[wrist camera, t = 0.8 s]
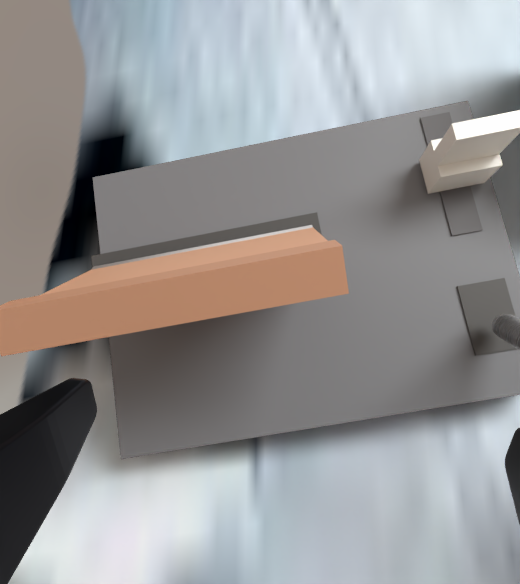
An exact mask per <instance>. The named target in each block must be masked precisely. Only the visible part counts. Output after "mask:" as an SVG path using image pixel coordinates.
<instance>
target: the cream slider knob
mask: <svg viewBox="0 0 520 584" xmlns="http://www.w3.org/2000/svg"><path fill="white" fill-rule="evenodd" d="M519 133H520V110H517V111H512V112H507V113H502V114H497V115H492V116H487V117H482V118H477V119H472V120H467V121H463V122H458V123H453V124H451V126H450V127H449V129H448V130H447V132H446V133H445V135H444V137H443V138H441V139H436V140H431V141H430V143H429V145H428V146H427V148H426V150H425V151H424V153H423V155H422V156H421V158H420V159H419V161H420V165H421V169H422V173H423V176H424V180H425V184H426V188H427V192H428V194H429V193H434V192H440V191H445V190H450V189H455V188H460V187H466V186H471V185H476V184H481V183H485V182H486V181H487V180H488V179H489V178H490V177H491V176H492V175H493V174H494V173H495V172H496V171H497V170H498V169H499V168H500V167H502V166H503V164H502V160H501V157H500V153H501V152H502V151H503V150H504V149H505V148H506V147H507V146H508V145H509V144H510V143H511V142H512V141H513V140H514V139H515V138H516V137H517V136H518V134H519Z"/></svg>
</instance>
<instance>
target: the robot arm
mask: <svg viewBox="0 0 520 584" xmlns="http://www.w3.org/2000/svg"><path fill="white" fill-rule="evenodd" d="M96 412H97V406H96V402H95V398H94V394H93V389H92V385H91V383H90V382H89V381H88V380H86V379H77V378H71V379H68V380H66V381H64V382H62V383H60V384H58V385H56V386H54V387H53V388H51V389H49V390H47V391H45V392H43V393H41V394H39V395H37V396H35V397H33V398H31V399H30V400H28V401H26V402H24V403H22V404H20V405H18V406H16V407H14V408H12V409H10V410H8V411H7V412H5V413H3V414H1V415H0V584H8V582H9V581H10V579H11V577H12V575H13V574H14V572H15V570H16V568H17V567H18V565H19V563H20V561H21V560H22V558H23V556H24V554H25V553H26V551H27V549H28V547H29V546H30V544H31V542H32V540H33V539H34V537H35V535H36V533H37V532H38V530H39V528H40V526H41V525H42V523H43V521H44V520H45V518H46V516H47V514H48V513H49V511H50V509H51V507H52V506H53V504H54V502H55V500H56V499H57V497H58V495H59V493H60V492H61V490H62V488H63V486H64V484H65V483H66V481H67V479H68V477H69V475H70V473H71V470H72V468H73V466H74V464H75V462H76V459H77V457H78V455H79V453H80V451H81V448H82V446H83V444H84V442H85V439H86V437H87V435H88V433H89V431H90V428H91V426H92V424H93V422H94V419H95V417H96ZM505 468H506V473H507V477H508V481H509V485H510V489H511V493H512V497H513V500H514V504H515V508H516V512H517V516H518V520H519V524H520V428H518V429H517V430H516V431H515V433H514V436H513V438H512V441H511V444H510V446H509V449H508V451H507V454H506V457H505Z"/></svg>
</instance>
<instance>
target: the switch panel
mask: <svg viewBox="0 0 520 584" xmlns="http://www.w3.org/2000/svg"><path fill="white" fill-rule="evenodd" d="M472 119H473V116H472V112H471V109H470V105H469V102H468V101H464V102H459V103H454V104H450V105H445V106H440V107H435V108H430V109H425V110H420V111H415V112H410V113H406V114H401V115H396V116H391V117H386V118H381V119H376V120H371V121H367V122H362V123H357V124H352V125H347V126H342V127H337V128H332V129H328V130H323V131H318V132H313V133H308V134H303V135H298V136H293V137H288V138H284V139H279V140H274V141H269V142H264V143H259V144H254V145H249V146H245V147H240V148H235V149H230V150H225V151H220V152H215V153H210V154H206V155H201V156H196V157H191V158H186V159H181V160H176V161H171V162H166V163H162V164H157V165H152V166H147V167H142V168H137V169H132V170H127V171H123V172H118V173H113V174H108V175H103V176H98V177H93V185H94V195H95V205H96V215H97V225H98V235H99V245H100V254H98V255H93V256H91V259H92V268H93V267H94V266H99V265H104V264H110V263H115V262H120V261H125V260H131V259H136V258H141V257H146V256H151V255H157V254H162V253H167V252H172V251H178V250H183V249H188V248H193V247H198V246H204V245H209V244H214V243H219V242H225V241H230V240H235V239H240V238H245V237H251V236H256V235H261V234H266V233H271V232H277V231H282V230H287V229H292V228H298V227H303V226H308V225H312V226H313V228H314V229H315V230H316V231H318V232H319V233H320V234H321V235H322V236H323V237H324V238H325V239H326V240H328V241H331V240H336V241H337V242H338V243H340V244H341V245H342V248H343V255H344V262H345V269H346V276H347V283H348V290H349V294H344V295H338V296H333V297H327V298H322V299H316V300H311V301H305V302H299V303H294V304H288V305H283V306H277V307H272V308H266V309H261V310H255V311H250V312H244V313H239V314H233V315H227V316H222V317H216V318H211V319H205V320H200V321H194V322H189V323H183V324H178V325H172V326H167V327H161V328H155V329H150V330H144V331H139V332H133V333H128V334H122V335H117V336H111V337H109V345H110V355H111V365H112V375H113V385H114V395H115V405H116V415H117V425H118V435H119V445H120V455H121V459H125V458H131V457H137V456H144V455H150V454H156V453H162V452H168V451H174V450H181V449H187V448H193V447H199V446H205V445H212V444H218V443H224V442H230V441H236V440H242V439H249V438H255V437H261V436H267V435H273V434H279V433H286V432H292V431H298V430H304V429H310V428H317V427H323V426H329V425H335V424H341V423H347V422H354V421H360V420H366V419H372V418H378V417H384V416H391V415H397V414H403V413H409V412H415V411H422V410H428V409H434V408H440V407H446V406H452V405H459V404H465V403H471V402H477V401H483V400H489V399H496V398H502V397H508V396H514V395H520V350H518V349H517V348H515V347H513V346H512V345H510V344H509V343H507V342H506V341H504V340H503V339H501V338H500V337H498V336H497V335H496V334H495V333H494V332H493V330H492V322H493V320H494V319H495V318H496V317H497V316H499V315H501V314H511V315H513V316H515V317H517V318H519V319H520V276H519V272H518V269H517V265H516V262H515V259H514V255H513V252H512V248H511V245H510V242H509V238H508V235H507V231H506V228H505V225H504V221H503V218H502V214H501V211H500V208H499V204H498V201H497V197H496V194H495V191H494V187H493V184H492V180H491V177H490V178H489V179H488V180H487V181H486V182H485V183H481V184H476V185H471V186H466V187H460V188H455V189H450V190H445V191H440V192H434V193H429V194H428V192H427V188H426V184H425V180H424V176H423V173H422V169H421V165H420V161H419V159H420V158H421V156H422V155H423V153H424V151H425V150H426V148H427V146H428V145H429V143H430V141H431V140H436V139H441V138H443V137H444V135H445V133H446V132H447V130H448V129H449V127H450V126H451V124H453V123H458V122H463V121H467V120H472Z"/></svg>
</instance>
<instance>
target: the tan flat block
mask: <svg viewBox="0 0 520 584" xmlns="http://www.w3.org/2000/svg"><path fill="white" fill-rule="evenodd" d="M344 294H349V290H348V283H347V276H346V269H345V262H344V255H343V248H342V245H341V244H340V243H338V242H337V241H336V240H331V241H328V240H326V239H325V238H324V237H323V236H322V235H321V234H320V233H319V232H318V231H316V230H315V229H314V228H313V226H312V225H308V226H303V227H298V228H292V229H287V230H282V231H277V232H271V233H266V234H261V235H256V236H251V237H245V238H240V239H235V240H230V241H225V242H219V243H214V244H209V245H204V246H198V247H193V248H188V249H183V250H178V251H172V252H167V253H162V254H157V255H151V256H146V257H141V258H136V259H131V260H125V261H120V262H115V263H110V264H104V265H99V266H94V267H93V268H92V270H90V271H88V272H86V273H84V274H82V275H80V276H78V277H76V278H74V279H72V280H70V281H68V282H66V283H64V284H62V285H60V286H58V287H56V288H54V289H52V290H50V291H48V292H46V293H44V294H41V295H39V296H34V297H29V298H23V299H18V300H13V301H9V302H7V303H5V304H3V305H0V354H1V356H6V355H11V354H17V353H23V352H28V351H34V350H39V349H45V348H50V347H56V346H61V345H67V344H72V343H78V342H83V341H89V340H95V339H100V338H106V337H111V336H117V335H122V334H128V333H133V332H139V331H144V330H150V329H155V328H161V327H167V326H172V325H178V324H183V323H189V322H194V321H200V320H205V319H211V318H216V317H222V316H227V315H233V314H239V313H244V312H250V311H255V310H261V309H266V308H272V307H277V306H283V305H288V304H294V303H299V302H305V301H311V300H316V299H322V298H327V297H333V296H338V295H344Z"/></svg>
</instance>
